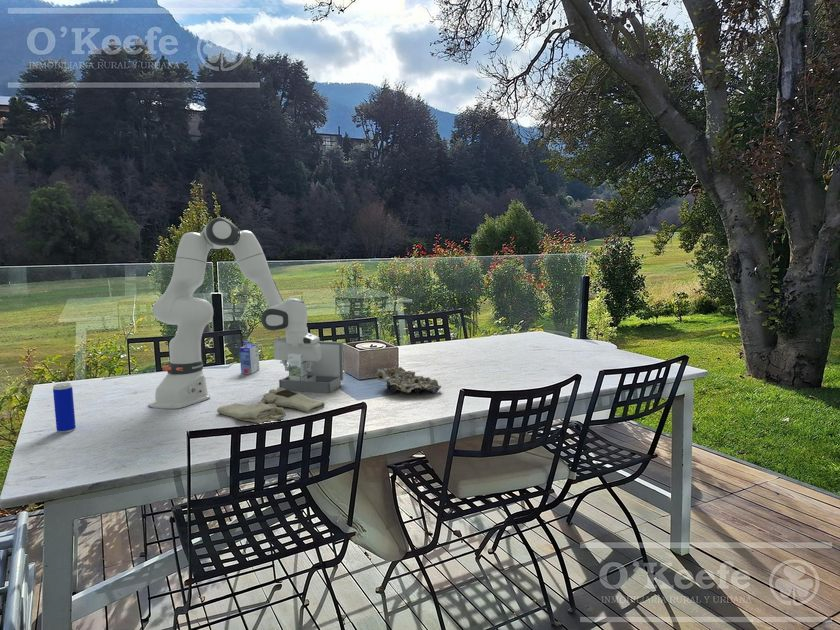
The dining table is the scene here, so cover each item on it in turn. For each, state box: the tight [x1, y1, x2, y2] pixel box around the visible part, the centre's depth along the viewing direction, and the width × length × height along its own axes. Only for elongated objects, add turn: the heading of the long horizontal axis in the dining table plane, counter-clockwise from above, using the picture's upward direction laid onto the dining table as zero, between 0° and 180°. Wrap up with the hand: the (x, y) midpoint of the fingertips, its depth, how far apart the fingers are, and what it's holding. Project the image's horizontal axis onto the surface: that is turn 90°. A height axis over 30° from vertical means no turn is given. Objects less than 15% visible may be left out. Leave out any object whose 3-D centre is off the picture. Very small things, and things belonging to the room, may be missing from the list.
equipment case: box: [278, 340, 344, 394], centre depth 233 cm, size 14×22×18 cm, turn 76°
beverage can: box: [52, 382, 77, 434], centre depth 180 cm, size 5×5×15 cm
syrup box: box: [287, 353, 307, 381], centre depth 233 cm, size 6×6×14 cm
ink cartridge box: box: [239, 339, 260, 375], centre depth 261 cm, size 10×6×14 cm, turn 174°
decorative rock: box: [376, 365, 442, 394], centre depth 228 cm, size 22×26×10 cm
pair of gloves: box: [216, 387, 325, 424], centre depth 201 cm, size 30×26×5 cm
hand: (298, 371), depth 233 cm, fingers open, 8 cm apart
